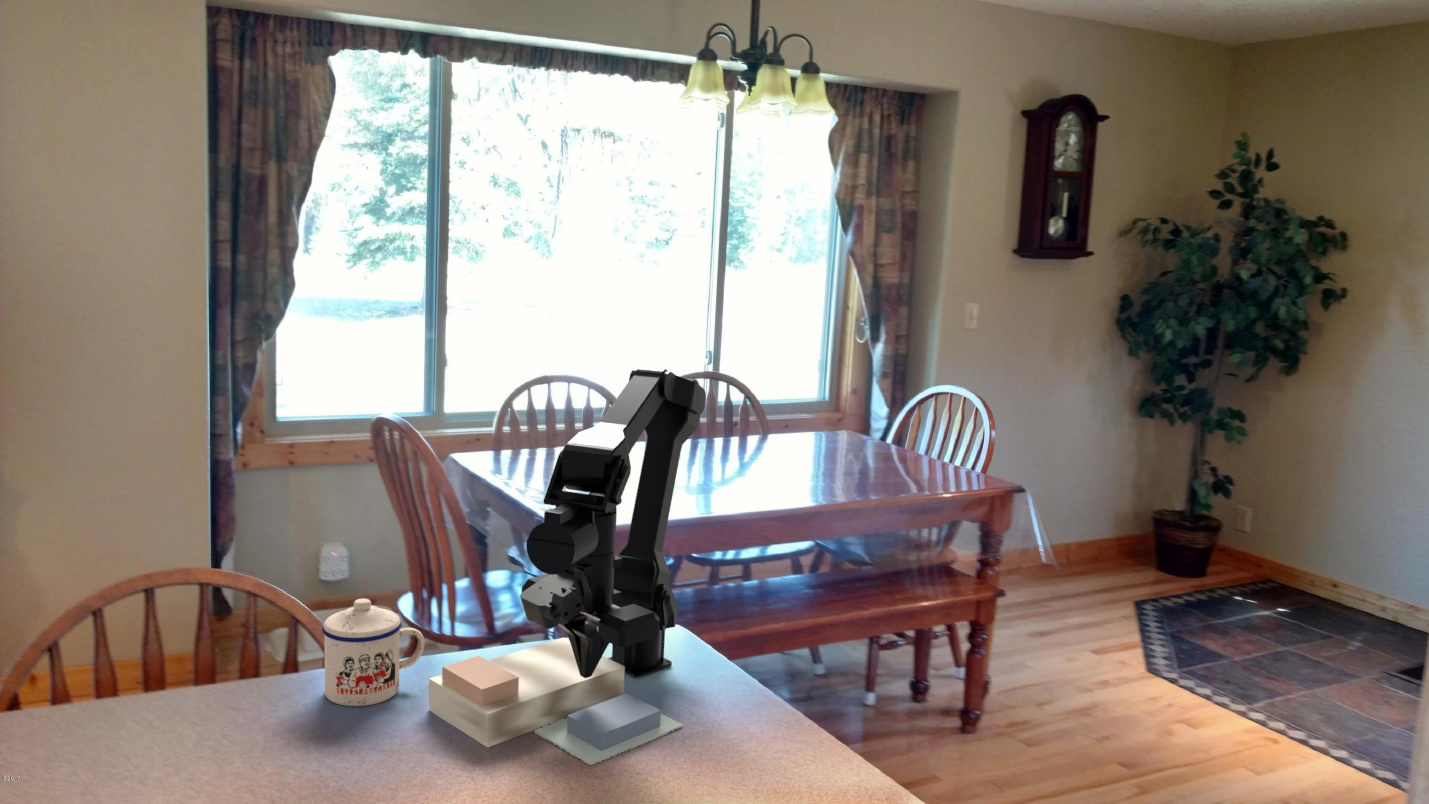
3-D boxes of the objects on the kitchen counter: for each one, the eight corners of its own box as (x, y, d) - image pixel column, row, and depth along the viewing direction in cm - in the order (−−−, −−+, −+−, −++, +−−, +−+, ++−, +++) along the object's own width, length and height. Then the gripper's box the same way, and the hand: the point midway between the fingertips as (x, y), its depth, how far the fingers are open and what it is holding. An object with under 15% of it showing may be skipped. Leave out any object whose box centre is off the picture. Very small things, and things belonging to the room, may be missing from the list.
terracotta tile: (478, 671, 129) (478, 655, 129) (518, 693, 123) (518, 677, 123) (442, 682, 125) (442, 666, 125) (481, 706, 120) (481, 689, 120)
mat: (626, 698, 133) (626, 696, 133) (682, 727, 126) (682, 724, 126) (534, 732, 123) (534, 730, 123) (590, 766, 116) (590, 763, 116)
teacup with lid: (330, 714, 125) (329, 618, 123) (316, 683, 132) (315, 593, 131) (433, 696, 131) (434, 605, 129) (414, 668, 138) (415, 581, 136)
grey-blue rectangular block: (660, 710, 125) (660, 726, 125) (626, 693, 129) (625, 708, 129) (602, 734, 118) (601, 751, 119) (567, 715, 122) (567, 731, 123)
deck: (562, 666, 141) (563, 637, 141) (623, 697, 133) (624, 666, 132) (428, 710, 127) (429, 678, 126) (487, 747, 119) (488, 713, 118)
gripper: (484, 542, 125) (482, 669, 127) (588, 585, 112) (583, 725, 115) (561, 526, 133) (557, 646, 135) (665, 564, 120) (659, 695, 123)
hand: (586, 676), depth 127 cm, fingers closed
